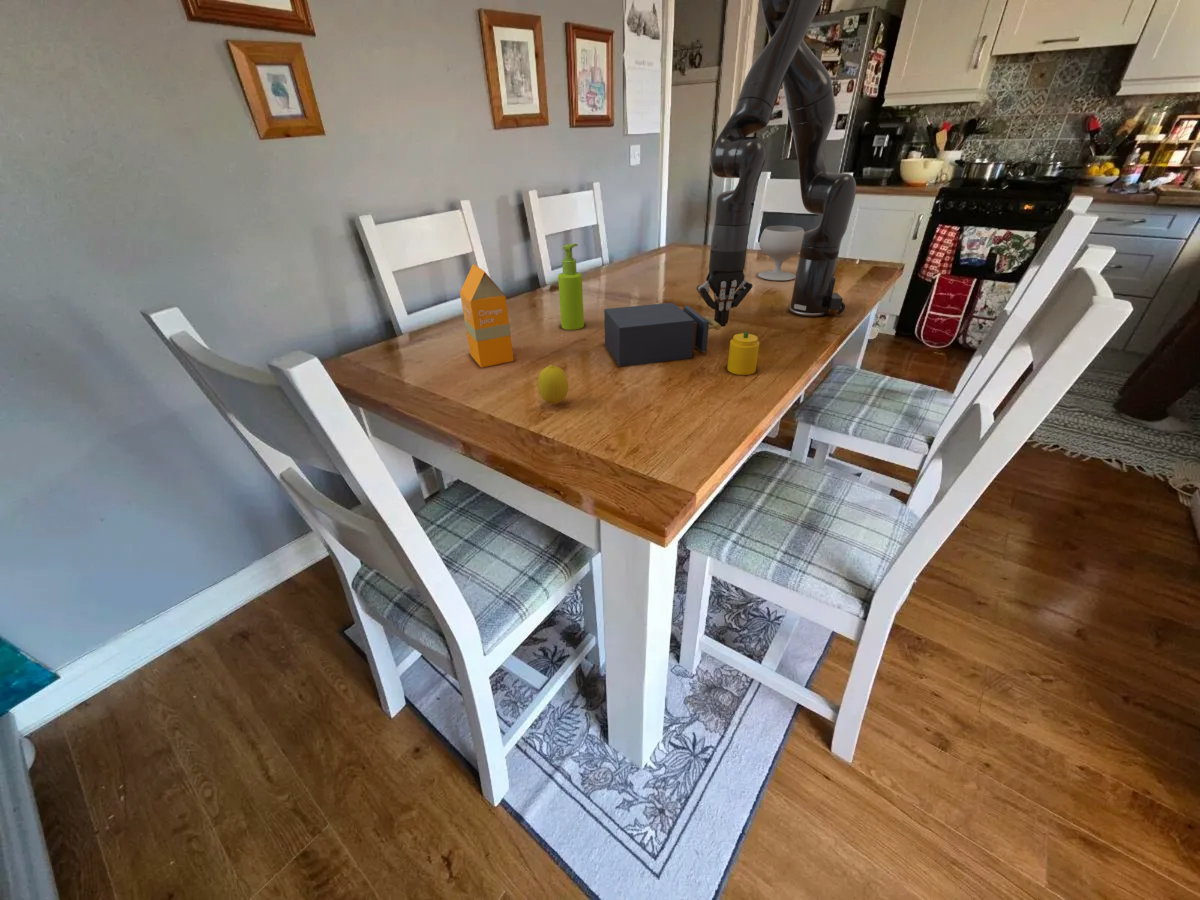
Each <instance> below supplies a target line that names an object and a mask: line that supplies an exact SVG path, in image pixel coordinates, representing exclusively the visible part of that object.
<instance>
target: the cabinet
mask: <svg viewBox="0 0 1200 900" xmlns="http://www.w3.org/2000/svg"><path fill="white" fill-rule="evenodd" d="M603 311H604V312H603V313H604V314H603V315H604V317H603V318H604V319H603V320H604V346H605V347H606V348H607V350H608V352H609V353H610V355H611V356H612V358H613V359H614V361H615V362H616V364H617V365H618V366H619V367H629V366H635V365H644V364H653V363H662V362H669V361H671V362H672V361H680V360H689V359H692V358H693V351H692V349H693V336H694V323H695V320H694V319H693V318H691V317H690V316H689V315H688V314H686V313H685V312H684V311H683V309H682V308H680V307H679V306H678V305H677V304H675V303H674V302H664V303H655V304H644V305H642V304H641V305H633V306H621V307H612V308H611V307H610V308H604V310H603Z"/></svg>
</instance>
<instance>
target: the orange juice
mask: <svg viewBox="0 0 1200 900" xmlns="http://www.w3.org/2000/svg"><path fill="white" fill-rule="evenodd" d="M459 296H460V301H461V307H462V314H463V321H464V326H465V330H466V337H467V343H468V348H469V353H470V356H471V357H472V359H473V360H474V361H475V362H476V363H477V364H478V366H479V367H480V368H486V367H492V366H496V365H501V364H504V363H510V362H514V353H513V352H514V351H513V344H512V336H511V326H510V320H509V313H508V312H509V311H508V305H507V296H506V294H505V293H504V292H503V291H502V289H500V287H499V286H498V285H497V284H496V283H495V281H493V279H492V278H491V277H490V276H489V275H488V274H487V273H486V272H485V270H484V269H482V268H481V267H479V266H477V265H476V264H474V263H472V265H471V267H470V270H469V272H468V273H467V276H466V278H465V281H464V283H463V285H462V286H461V289H460V291H459Z"/></svg>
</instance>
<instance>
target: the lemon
mask: <svg viewBox="0 0 1200 900" xmlns="http://www.w3.org/2000/svg"><path fill="white" fill-rule="evenodd" d="M537 389H538V394H539V395H540V397H541V399H542V400H544V401H545V402H546V403H548V404H551V405H553V406H556V405H558V404H559V403H561V402H562V401H564V400H565V398H566V397H567V394H568V392H569V380H568V378H567V375H566V373H565V371H564V370H563V368H561V367H559V366H557V365H554V364H549V365H548V366H546V367H545V368H543V369H542V370H541V371H540V372H539V374H538V379H537Z"/></svg>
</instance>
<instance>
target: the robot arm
mask: <svg viewBox="0 0 1200 900" xmlns="http://www.w3.org/2000/svg"><path fill="white" fill-rule="evenodd" d="M822 1H823V0H760V6H761V11H762V15H763V18H764V23H765V25H766V29H767V31H768V32H767V33H768V36H769V38H770V40H769V41H768V43H767V44H766V46H764V48H763V50H762V51H761V52H760V54H759V55H758V56H757V58H756V59H755V60H754V62H753V64H752V65H751V67H750V69H749V71H748V72H747V74H746V76H745V79H744V82H743V84H742V87H741V90H740V93H739V96H738V99H737V102H736V105H735V108H734V111H733V112H732V114H731V115H730V117H729V119H728V120H727V122H726V123H725V125H724V127H723V129H722V130H721V132H720V133H719V134H718V136H717V139H716V140H715V142H714V144H713V146H712V149H711V153H710V160H709V163H710V169H711V171H712V173H713V175H714V176H715V177H718V178H724V179H738V181H737V185H736V186H735V188H734V189H733V190H727V191H723V192H720V193H719V194H718V195H717V196H716V199H715V207H714V219H713V227H712V233H711V239H710V251H709V261H708V262H709V263H708V273H707V276H706V277H705V282H704V283H702V284H701V285H700V284H699V285H697V286H696V291H697V293H698V294H699V296H700V297H701V298H702V300H703V301H704V302H705V304H706V306H707V307H709V308H711V310H714V318H713V320H715V321H716V322H717V323H719V324H720V325H721V328H722V327H726V325H727V324H728V323H729V319H730V318H729V317H730V311H731V309H732V308H737V307H738V306H739V305H740V304H741V302H742V301H743V300H744V299H745V297H746V296H747V295H748V293H749V292H750V291H751V290H752V288H754V287H753V285H754V284H752V283H751V282H749V281H747V280H746V279H745V278H746V277H745V274H744V269H745V266H746V257H747V249H748V244H749V242H748V240H749V222H750V216H751V215H750V213H751V207H752V201H753V198H754V195H755V191H756V189H757V186H758V184H759V180H760V177H761V175H762V172H763V170H764V167H765V164H766V160H767V147H766V144H765V142H764V140H762V138H760V137H758V136H749V135H752V134H755V133H759V132H761V131H763V130H764V129H765V128H767V126H768V125H769V122H770V121H771V117H772V114H773V111H774V108H775V106H776V103H777V99H778V97H779V94H780V91H781V88H782V89H783V92H784V99H785V105H786V109H787V114H788V119H789V124H790V128H791V131H792V136H793V141H794V146H795V147H794V148H795V153H796V159H797V165H798V174H799V187H800V195H801V201H802V205H803V207H804V209H805V210H806V211H807V213H810V214H813V215H819V216H822V217H821V219H820V222H819V225H817V226H816V227H815V228H812V229H808V230H806V231H804V234H803V238H802V244H801V249H800V252H799V256H798V262H797V267H796V272H795V276H796V278H794V283H793V289H792V296H791V301H790V306H789V312H790V313H792V314H794V315H797V316H801V317H810V318H811V317H812V318H815V317H822V316H829V312H830V311H836V314H837V315H839V316H840V315H841V314H842V313H843V312H844V311H845V310H846V304H845V303H844V302H843V297H842V296H841V295H840V294H839V293H838V292H834V288H835V284H836V277H835V272H836V268H837V263H838V258H839V253H840V248H841V244H842V241H843V238H844V236H845V234H846V232H847V229H848V226H849V221H850V217H851V214H852V211H853V207H854V203H855V200H856V194H857V182H856V179H855V177H854V176H853V175H852V174H850V173H846V172H845V173H844V172H829V170H828V168H827V164H826V157H825V145H826V142H827V139H828V137H829V134H830V131H831V129H832V127H833V123H834V119H835V117H836V102H835V93H834V87H833V80H832V77H831V75H830V73H829V71H828V69H827V68H826V66H825V65H824V64H823V62H822V61H821V60H820V59H819V58H818V57H817V55H816V54H814V53H813V51H812V49H810V48H809V46H808V45H807V43H806V41H805V40H804V38H805V36H806V34H807V32H808V30H809V28H810V26H811V24H812V22H813V20H814V19H815V16H816V14H817V12H818V10H819V8H820V6H821V4H822ZM710 290H711V291H712V293H713V298H712V297H711V295H710Z"/></svg>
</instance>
